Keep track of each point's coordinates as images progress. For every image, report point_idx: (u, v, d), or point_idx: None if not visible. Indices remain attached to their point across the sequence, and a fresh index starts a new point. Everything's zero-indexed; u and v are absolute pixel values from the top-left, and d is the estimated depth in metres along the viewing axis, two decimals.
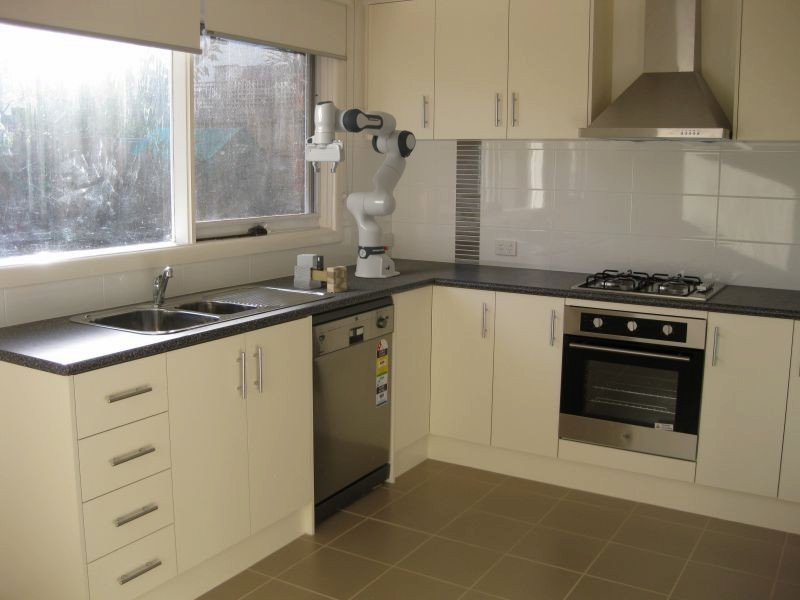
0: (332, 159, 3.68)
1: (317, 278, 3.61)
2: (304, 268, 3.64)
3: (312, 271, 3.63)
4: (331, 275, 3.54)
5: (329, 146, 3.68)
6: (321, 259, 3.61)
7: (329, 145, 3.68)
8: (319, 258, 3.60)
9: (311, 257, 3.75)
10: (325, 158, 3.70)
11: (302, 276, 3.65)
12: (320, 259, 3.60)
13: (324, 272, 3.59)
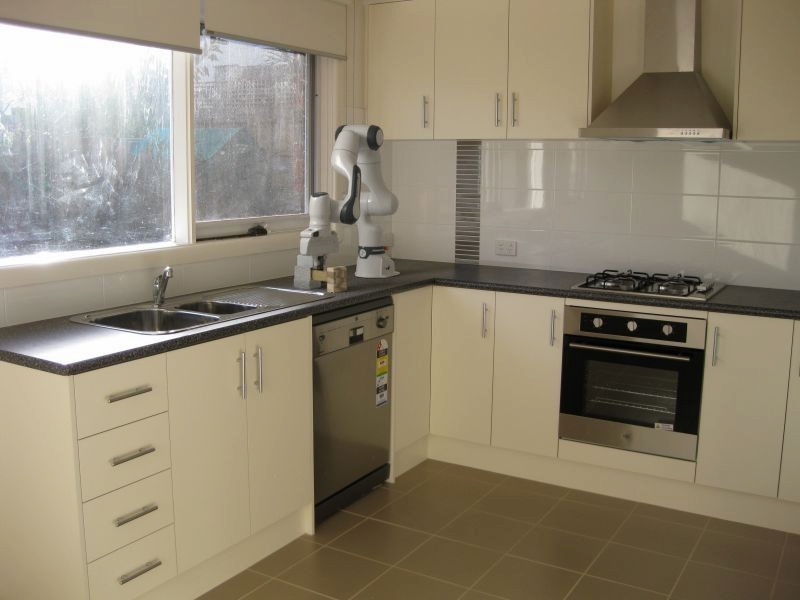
0: (333, 250, 3.65)
1: (317, 278, 3.61)
2: (304, 268, 3.64)
3: (312, 271, 3.63)
4: (331, 275, 3.54)
5: (330, 238, 3.63)
6: (321, 259, 3.61)
7: (329, 237, 3.63)
8: (319, 258, 3.60)
9: (311, 257, 3.75)
10: (326, 251, 3.62)
11: (302, 276, 3.65)
12: (320, 259, 3.60)
13: (324, 272, 3.59)
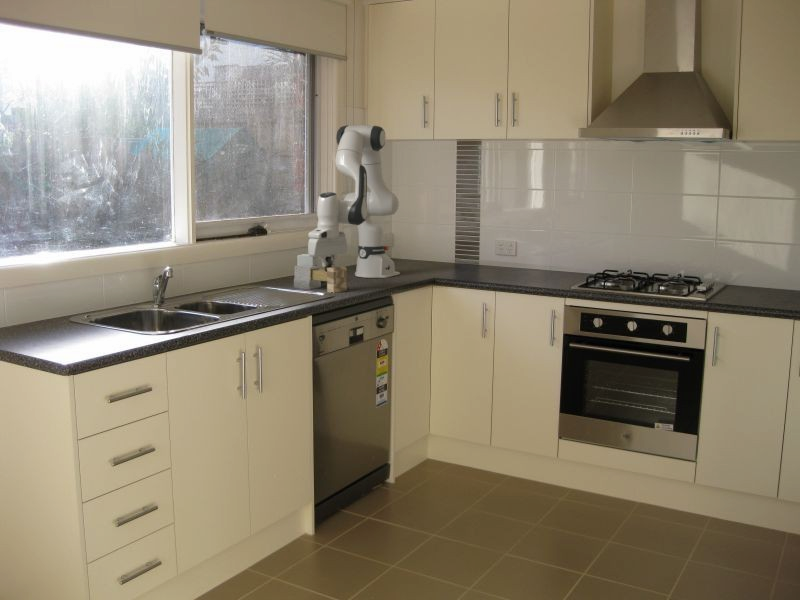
0: (341, 251, 3.62)
1: (325, 279, 3.59)
2: (304, 268, 3.64)
3: (320, 272, 3.60)
4: (331, 275, 3.54)
5: (338, 238, 3.60)
6: (329, 260, 3.58)
7: (338, 238, 3.60)
8: (327, 259, 3.58)
9: (311, 257, 3.75)
10: (334, 251, 3.59)
11: (302, 276, 3.65)
12: (328, 260, 3.58)
13: None
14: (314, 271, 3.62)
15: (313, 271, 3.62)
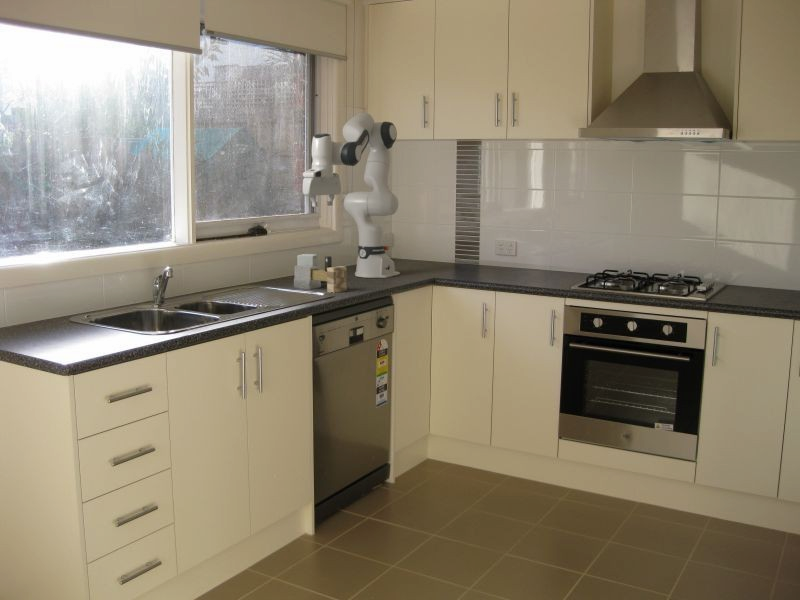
0: (335, 192, 3.70)
1: (325, 279, 3.59)
2: (304, 268, 3.64)
3: (320, 272, 3.60)
4: (331, 275, 3.54)
5: (332, 179, 3.67)
6: (329, 260, 3.58)
7: (332, 178, 3.67)
8: (327, 259, 3.58)
9: (311, 257, 3.75)
10: (328, 192, 3.66)
11: (302, 276, 3.65)
12: (328, 260, 3.58)
13: None
14: (314, 271, 3.62)
15: (313, 271, 3.62)
